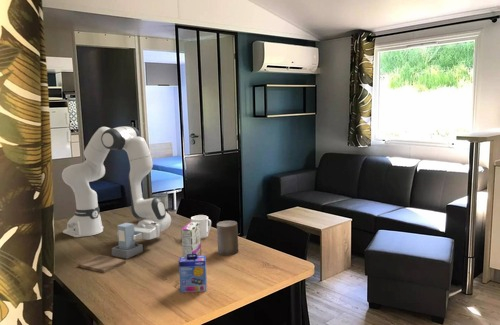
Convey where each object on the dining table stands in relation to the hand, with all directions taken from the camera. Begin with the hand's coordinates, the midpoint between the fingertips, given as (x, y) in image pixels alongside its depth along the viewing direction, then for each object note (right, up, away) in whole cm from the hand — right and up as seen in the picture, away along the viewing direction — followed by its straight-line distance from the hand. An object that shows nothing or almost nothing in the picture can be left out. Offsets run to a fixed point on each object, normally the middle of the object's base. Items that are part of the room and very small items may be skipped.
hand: (125, 236), depth 190 cm
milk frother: (+4, -1, +57) cm, 58 cm away
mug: (+33, -5, +24) cm, 41 cm away
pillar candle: (+48, -7, +1) cm, 49 cm away
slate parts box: (+1, -8, +2) cm, 9 cm away
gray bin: (+1, -8, +2) cm, 9 cm away
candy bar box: (+33, -9, -10) cm, 36 cm away
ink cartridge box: (+37, -13, -37) cm, 54 cm away
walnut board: (-7, -10, -11) cm, 17 cm away
